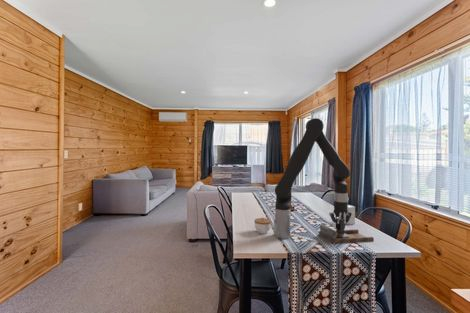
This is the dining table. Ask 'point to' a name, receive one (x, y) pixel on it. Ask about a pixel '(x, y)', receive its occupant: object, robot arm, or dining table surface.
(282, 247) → the dining table surface
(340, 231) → the press jaw
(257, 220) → the lidded jar
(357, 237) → the press base
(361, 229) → the dining table surface
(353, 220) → the supplement box
